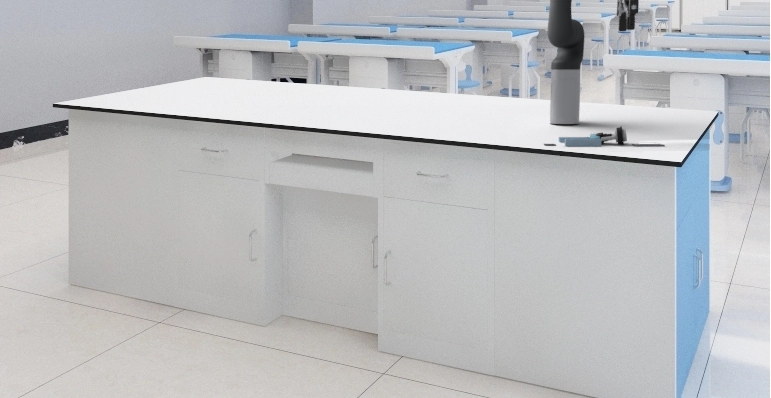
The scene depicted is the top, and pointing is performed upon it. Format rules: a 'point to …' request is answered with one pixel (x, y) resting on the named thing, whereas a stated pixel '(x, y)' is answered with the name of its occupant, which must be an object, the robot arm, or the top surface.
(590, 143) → the channel
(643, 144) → the mat
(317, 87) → the top surface
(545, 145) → the trap plate
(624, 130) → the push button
